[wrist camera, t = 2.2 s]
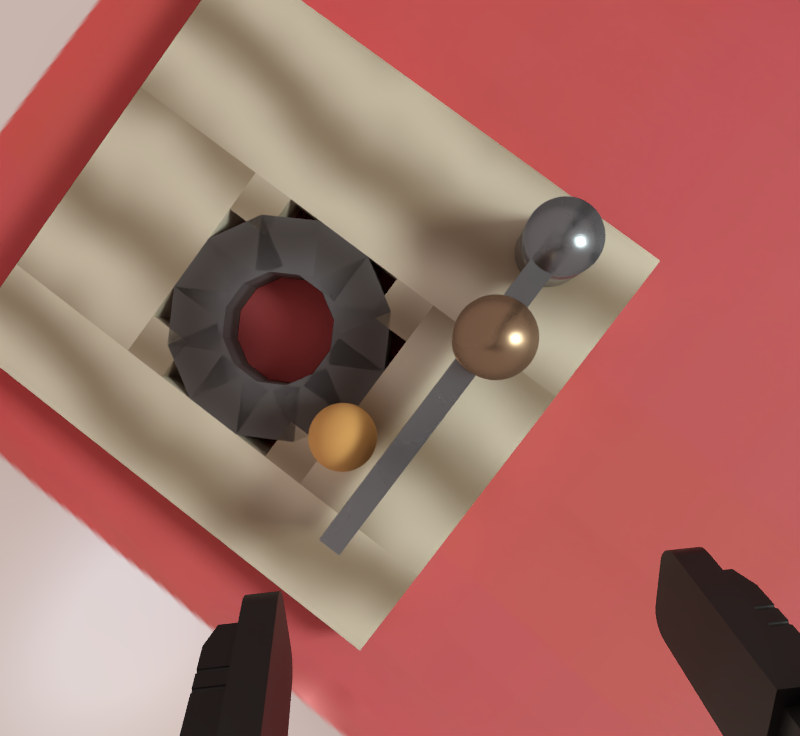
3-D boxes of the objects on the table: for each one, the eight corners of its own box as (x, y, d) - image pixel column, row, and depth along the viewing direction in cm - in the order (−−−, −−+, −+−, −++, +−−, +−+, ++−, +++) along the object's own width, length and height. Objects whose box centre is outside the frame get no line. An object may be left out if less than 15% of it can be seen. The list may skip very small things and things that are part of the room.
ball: (341, 387, 34) (329, 390, 31) (393, 427, 34) (387, 434, 31) (303, 439, 35) (286, 448, 31) (354, 478, 34) (344, 492, 31)
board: (249, -21, 37) (234, -48, 34) (645, 267, 36) (660, 260, 33) (-5, 340, 38) (-36, 339, 36) (366, 630, 37) (360, 650, 35)
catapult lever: (542, 204, 33) (591, 123, 22) (599, 244, 33) (677, 185, 22) (317, 503, 34) (253, 573, 23) (370, 544, 34) (332, 635, 23)
